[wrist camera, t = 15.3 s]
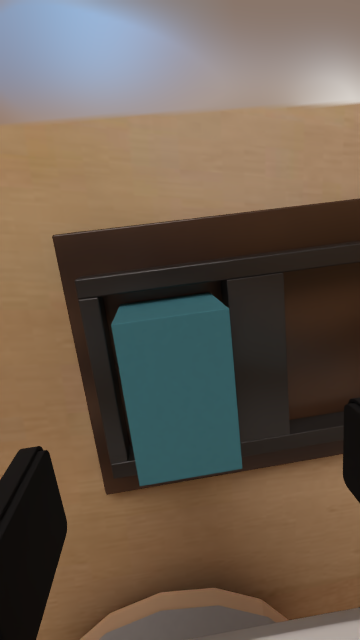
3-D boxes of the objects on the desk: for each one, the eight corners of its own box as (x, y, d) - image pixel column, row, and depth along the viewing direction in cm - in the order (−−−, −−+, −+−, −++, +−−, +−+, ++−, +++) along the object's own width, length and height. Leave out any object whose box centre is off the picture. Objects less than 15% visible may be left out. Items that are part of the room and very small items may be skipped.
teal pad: (119, 304, 18) (110, 324, 13) (209, 292, 18) (229, 307, 14) (141, 432, 20) (139, 487, 15) (222, 419, 20) (242, 469, 16)
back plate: (57, 235, 18) (42, 234, 15) (402, 194, 19) (443, 186, 16) (108, 481, 22) (102, 514, 19) (391, 433, 23) (423, 458, 20)
